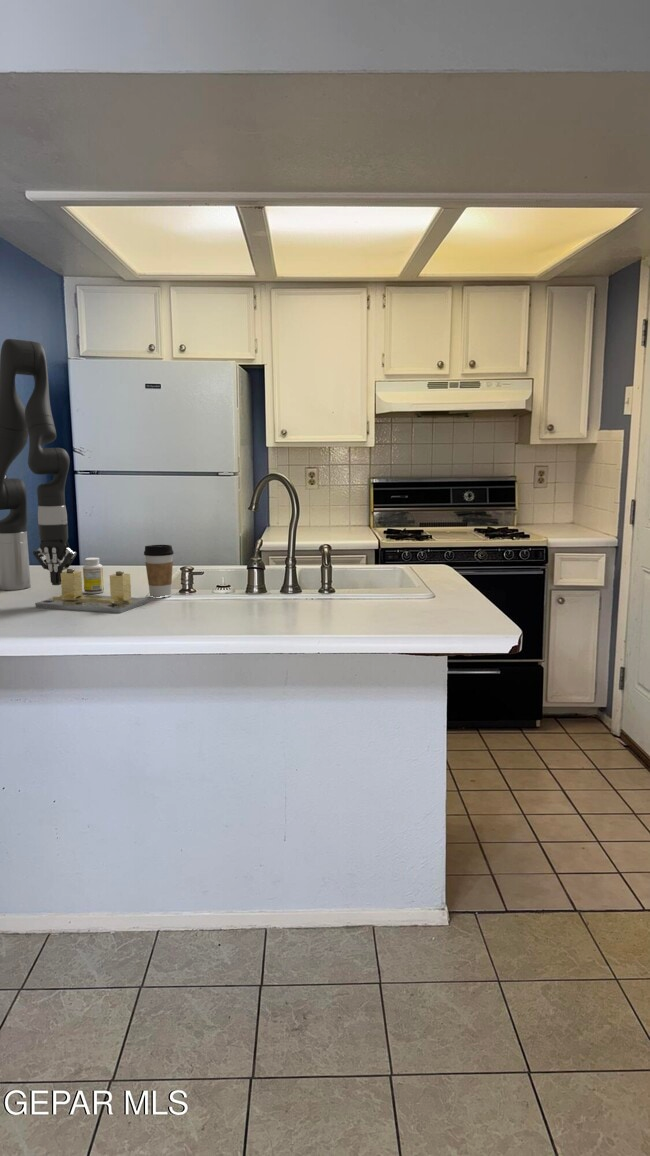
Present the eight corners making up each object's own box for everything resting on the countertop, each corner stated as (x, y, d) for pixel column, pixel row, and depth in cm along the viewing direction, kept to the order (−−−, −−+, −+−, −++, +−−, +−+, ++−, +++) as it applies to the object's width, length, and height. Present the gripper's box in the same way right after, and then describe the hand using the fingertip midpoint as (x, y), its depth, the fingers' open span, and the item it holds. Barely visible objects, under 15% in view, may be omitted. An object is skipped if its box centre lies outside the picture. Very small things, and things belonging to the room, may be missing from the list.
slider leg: (55, 601, 208) (54, 571, 207) (70, 596, 214) (68, 567, 213) (68, 602, 207) (66, 572, 205) (82, 597, 213) (81, 568, 212)
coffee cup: (140, 598, 219) (137, 546, 216) (153, 593, 227) (151, 542, 224) (167, 599, 217) (165, 547, 214) (180, 594, 225) (178, 543, 222)
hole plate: (35, 607, 207) (35, 602, 207) (67, 597, 221) (66, 593, 220) (120, 613, 200) (120, 608, 200) (147, 602, 213) (147, 598, 213)
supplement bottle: (92, 590, 232) (90, 556, 230) (107, 591, 230) (105, 557, 228) (80, 593, 227) (78, 559, 225) (96, 594, 225) (94, 560, 223)
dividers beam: (44, 601, 209) (42, 571, 208) (58, 597, 215) (56, 567, 214) (121, 606, 202) (120, 575, 201) (134, 601, 208) (133, 571, 207)
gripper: (23, 522, 208) (27, 586, 211) (65, 524, 204) (69, 588, 207) (41, 520, 215) (45, 581, 218) (82, 521, 211) (85, 583, 214)
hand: (56, 584), depth 212 cm, fingers closed
